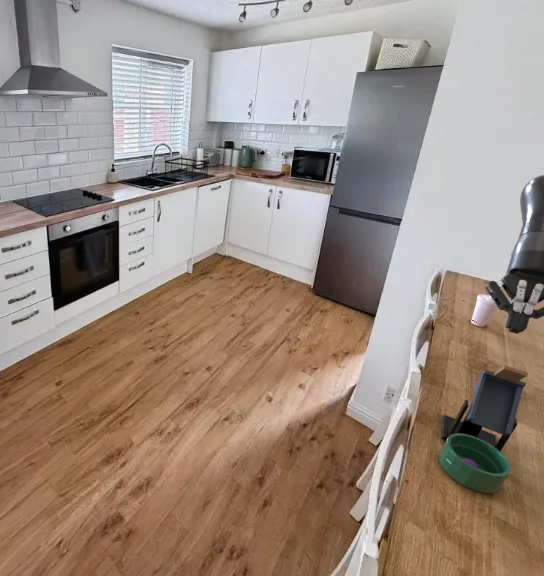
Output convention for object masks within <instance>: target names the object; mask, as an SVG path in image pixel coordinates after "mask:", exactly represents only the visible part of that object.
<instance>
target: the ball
mask: <svg viewBox="0 0 544 576" xmlns="http://www.w3.org/2000/svg"><path fill="white" fill-rule="evenodd" d="M462 459H463V460H464V461H466V462H467V463H469V464H470V465H472V466H474V467H476V468H478V466H477V465H476V463H475V462H473V461H472V460H470V459H467V458H462Z"/></svg>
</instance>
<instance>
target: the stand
mask: <svg viewBox="0 0 544 576" xmlns="http://www.w3.org/2000/svg"><path fill="white" fill-rule="evenodd" d="M468 409H469V400H468V399H465V400H464V401H463V403H462V405H461V407H460V409H459V411H458V413H457V415H456V416H455V418H454V417H452V416H449V415H446V414H444V415H443V417H442V427H441V429H442V430H441V440H443V441H444V443H445V442H446V440H447V438H448V437H449V436H450V435H452V434H456V433H458V434H467V435H471V436H474V437H476V438H479V439H481V440H483V441H485V442H487V443H489V444H490V445H492V446H493V447H495V448H496V449H497V450H499V451H500V452H501V451H502V450H503V448H504V447H505V445H506V443H507V442H508V440H509V439H510V437H511V435H512V434H513V433H514V432H515V429H516V428H517V426H518V420H517V418H516V417H515V421H514V425H513V428H512V432H511V434H510V435H507V436H504V435H502V434H501V436H500V437H499V438H498V441H497V439H496V434H494V433H491V432H490V431H487V430H484V429H483V427H482V426H479V425H477V424H474V423H472V422H469V421H466V418H467V415H468V412H469V410H468ZM467 410H468V411H467ZM465 414H466V415H465ZM464 415H465V417H464ZM462 419H463V420H462Z"/></svg>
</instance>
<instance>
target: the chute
mask: <svg viewBox="0 0 544 576" xmlns="http://www.w3.org/2000/svg"><path fill="white" fill-rule="evenodd" d="M528 375H529V372H527V371H524V370H520V369H518V368H514V367H511V366H509V365H503V366H502V367H500V368H499V369H498V370H497V371H495V372H494V371H491V370H488V369H484V370H482V372H481V373H479V374H478V378H477V381H476V385H475V388H474V390H473V391H474V392H473V396H472V398H471V402H470V405H469V407H468V411H469V412H468V411H467V413H468V415H467V418H466V421H469V422H472V423H474V424H477V425H479V426H482V428H484V429H487V430H489V431H492V432H495V433H496V434H499V435H501V436H502V435H504V436H507V435H510V434H511V432H512V428H513V425H514V421H515V418H516V416H517V414H518V413H517V412H518V409H519V405H520V401H521V397H522V393H523V389H524V388H525V387H526V386H527V382H525V381H521V380H523V379H524V378H526V377H528ZM512 433H513V432H512ZM511 435H512V434H511Z"/></svg>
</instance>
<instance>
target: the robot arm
mask: <svg viewBox="0 0 544 576" xmlns="http://www.w3.org/2000/svg"><path fill="white" fill-rule="evenodd" d="M519 205H520V213H521V220H522V226H521V229H520V232H519V236H518V239H517V241H516V242H515V244H514V246H513V249H512V252H511V255H510V256H511V257H510V259H509V263H508V267H507V269H506V273H505V275H504V276H503V277H502V278H501V279H500V280H497V281H495V280H490V281H489V282H488V283H487V285H485V290H486V292H487V293H488V295H490V296H491V297H492V299H493V300H494V302H495V303H496V305H497V307H498V308H497V309H498V310H499V311H504V312H505V313H507V319H506V321H505V329H508V330H507V332H509V333H513V334H516V335H519V334H520V333H523V332H524V331H526V329H527V328H528V325H529V321H530V319H534V320H538V319H540V318H542V317H544V306H543V307H540V308H538V309H535V308H536V306H537V304H539V303H541V302H543V301H544V174H542V175H537V176H536V177H534V178H532V179H530V180H529V181H528V182H527V183H526V184H525V186H524V187H523V188H522V190H521V194H520V199H519ZM503 290H504V291H503ZM504 292H505V293H506V294H505V293H504ZM507 296H508V297H509V298H510V299H508V297H507Z"/></svg>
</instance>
